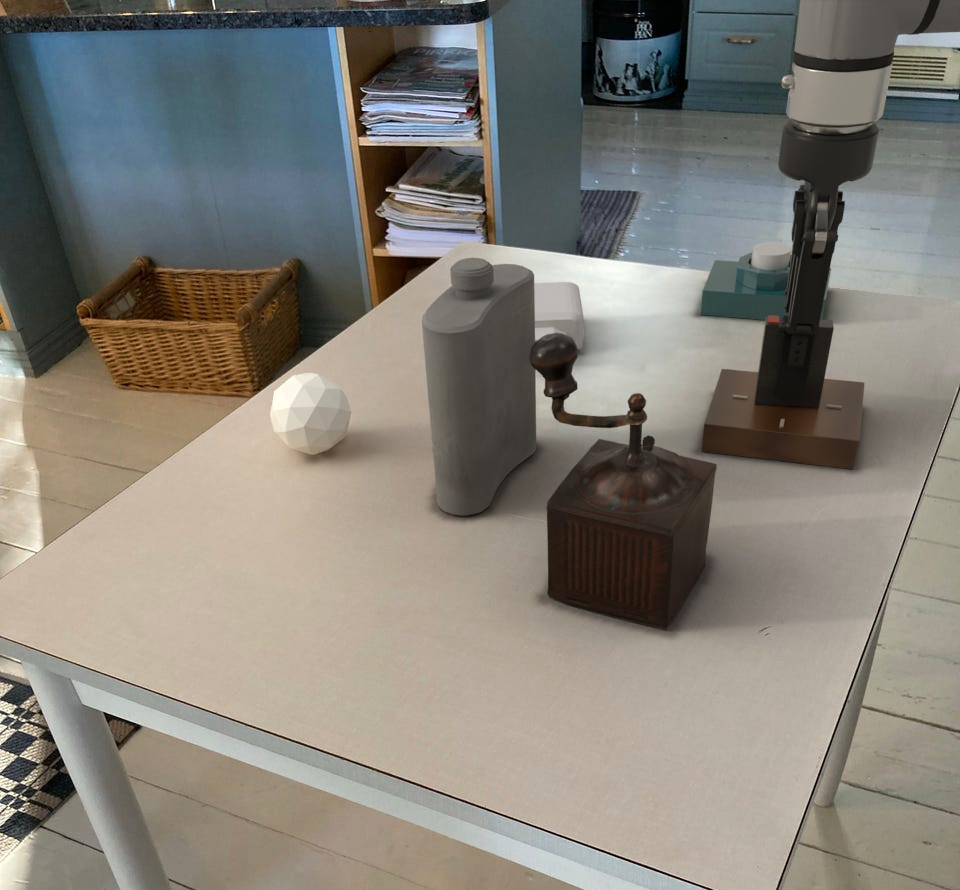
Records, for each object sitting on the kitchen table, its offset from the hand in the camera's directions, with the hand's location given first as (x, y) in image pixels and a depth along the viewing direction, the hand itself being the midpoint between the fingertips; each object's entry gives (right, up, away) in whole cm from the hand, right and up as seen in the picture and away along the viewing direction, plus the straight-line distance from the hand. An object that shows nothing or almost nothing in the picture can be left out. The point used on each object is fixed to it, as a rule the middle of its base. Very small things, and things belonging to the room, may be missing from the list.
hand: (788, 388), depth 98 cm
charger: (-22, +9, +20) cm, 31 cm away
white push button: (+5, +20, +24) cm, 31 cm away
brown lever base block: (0, -3, +3) cm, 4 cm away
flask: (-29, -9, -1) cm, 30 cm away
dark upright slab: (0, -1, +1) cm, 1 cm away
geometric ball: (-46, -5, +5) cm, 46 cm away
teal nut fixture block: (+5, +17, +26) cm, 32 cm away
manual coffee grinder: (-20, -18, -13) cm, 30 cm away
